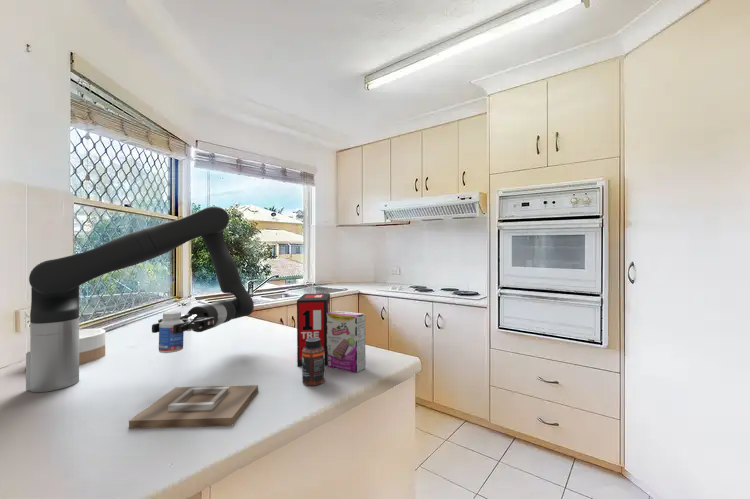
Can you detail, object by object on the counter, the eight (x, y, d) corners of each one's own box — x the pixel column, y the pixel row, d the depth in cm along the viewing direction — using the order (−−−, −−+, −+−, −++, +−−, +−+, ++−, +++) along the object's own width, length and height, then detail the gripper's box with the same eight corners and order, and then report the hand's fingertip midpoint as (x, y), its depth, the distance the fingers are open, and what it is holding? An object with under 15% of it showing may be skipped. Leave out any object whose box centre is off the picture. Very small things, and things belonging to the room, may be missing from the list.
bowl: (96, 349, 119) (97, 326, 119) (112, 357, 109) (112, 332, 109) (28, 362, 105) (29, 336, 105) (39, 373, 95) (39, 344, 95)
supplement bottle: (329, 379, 87) (329, 337, 88) (316, 388, 82) (316, 343, 82) (311, 376, 90) (310, 335, 90) (297, 384, 85) (297, 340, 85)
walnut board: (128, 428, 64) (128, 414, 64) (175, 393, 80) (175, 382, 80) (232, 425, 64) (232, 411, 65) (258, 391, 80) (257, 380, 81)
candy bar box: (325, 367, 97) (325, 312, 97) (336, 362, 101) (335, 310, 101) (356, 374, 91) (356, 315, 91) (366, 368, 95) (365, 313, 96)
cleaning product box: (327, 365, 98) (326, 299, 99) (297, 366, 98) (296, 300, 98) (330, 349, 115) (329, 293, 115) (305, 350, 114) (304, 293, 115)
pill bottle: (171, 354, 80) (171, 314, 80) (153, 353, 81) (153, 314, 82) (188, 348, 86) (188, 311, 86) (171, 346, 87) (171, 310, 87)
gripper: (186, 303, 99) (138, 313, 82) (229, 304, 97) (190, 315, 80) (185, 328, 99) (137, 343, 82) (229, 329, 97) (189, 345, 80)
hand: (164, 329), depth 81 cm, fingers closed on pill bottle, 5 cm apart
